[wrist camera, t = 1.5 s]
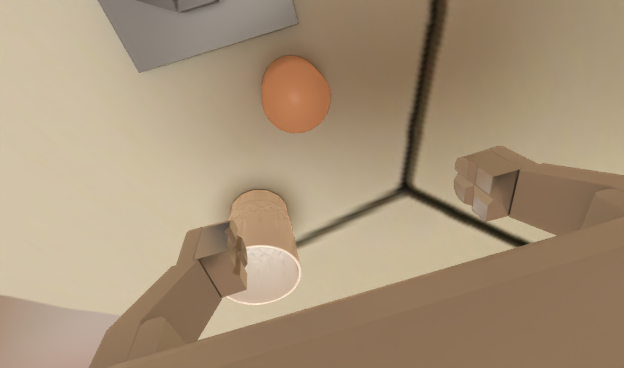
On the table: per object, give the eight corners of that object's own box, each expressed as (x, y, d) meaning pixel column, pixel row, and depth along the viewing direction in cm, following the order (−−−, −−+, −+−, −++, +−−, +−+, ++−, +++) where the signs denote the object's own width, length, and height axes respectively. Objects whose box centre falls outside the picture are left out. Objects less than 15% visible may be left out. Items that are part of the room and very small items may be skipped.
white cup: (234, 177, 31) (224, 238, 23) (300, 192, 34) (313, 253, 25) (219, 230, 35) (206, 300, 26) (280, 241, 37) (286, 308, 29)
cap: (311, 47, 26) (321, 54, 21) (325, 106, 29) (336, 122, 24) (253, 65, 26) (251, 75, 21) (273, 122, 29) (275, 141, 24)
